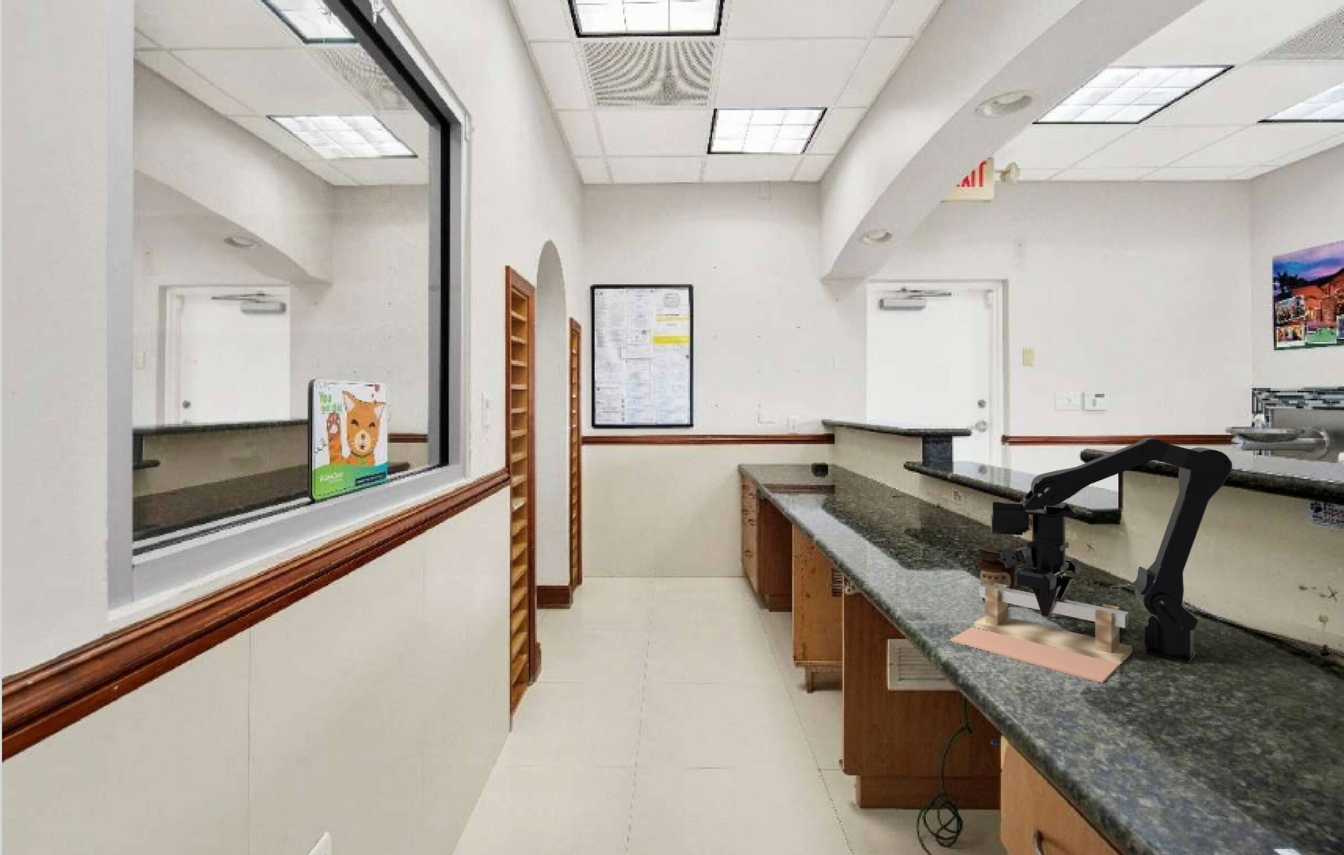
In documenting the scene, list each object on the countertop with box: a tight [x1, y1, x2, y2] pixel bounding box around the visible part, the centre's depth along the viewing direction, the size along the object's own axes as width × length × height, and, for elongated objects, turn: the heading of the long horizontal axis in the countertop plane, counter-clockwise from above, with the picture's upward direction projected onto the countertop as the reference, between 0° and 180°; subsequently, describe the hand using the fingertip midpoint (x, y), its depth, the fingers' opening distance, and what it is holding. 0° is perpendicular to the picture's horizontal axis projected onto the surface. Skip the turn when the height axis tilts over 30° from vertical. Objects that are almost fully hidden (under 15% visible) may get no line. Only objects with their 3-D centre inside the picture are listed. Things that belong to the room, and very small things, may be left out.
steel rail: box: [978, 584, 1130, 629], centre depth 124 cm, size 26×2×2 cm, turn 41°
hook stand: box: [973, 583, 1133, 665], centre depth 124 cm, size 26×8×9 cm, turn 41°
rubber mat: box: [949, 626, 1120, 684], centre depth 118 cm, size 26×10×1 cm, turn 41°
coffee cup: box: [977, 546, 1017, 607], centre depth 146 cm, size 9×8×13 cm
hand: (1048, 613), depth 124 cm, fingers open, 4 cm apart
